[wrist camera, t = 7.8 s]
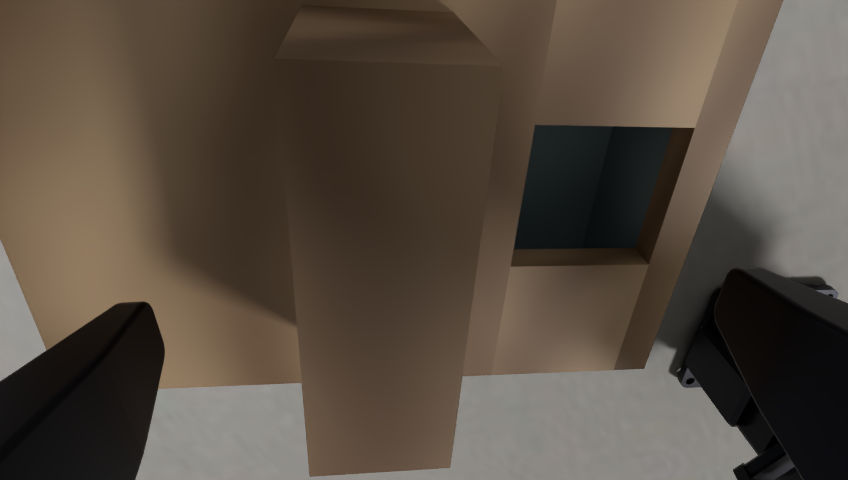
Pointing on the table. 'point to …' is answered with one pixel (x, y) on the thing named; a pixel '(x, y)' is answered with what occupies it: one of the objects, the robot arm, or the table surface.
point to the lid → (354, 189)
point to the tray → (589, 185)
